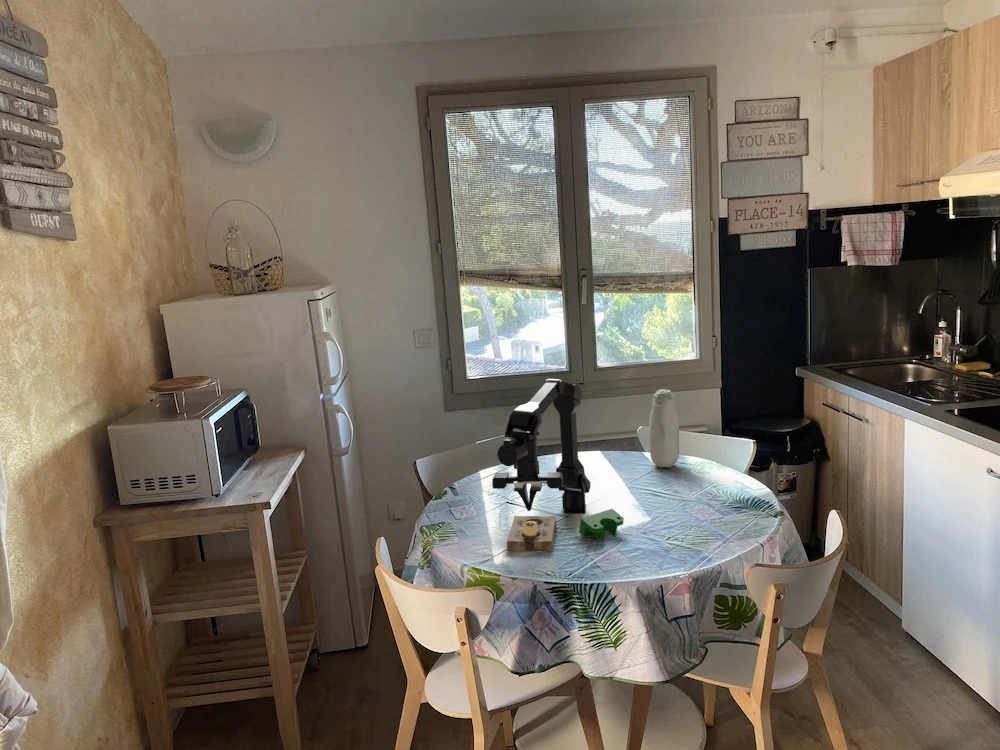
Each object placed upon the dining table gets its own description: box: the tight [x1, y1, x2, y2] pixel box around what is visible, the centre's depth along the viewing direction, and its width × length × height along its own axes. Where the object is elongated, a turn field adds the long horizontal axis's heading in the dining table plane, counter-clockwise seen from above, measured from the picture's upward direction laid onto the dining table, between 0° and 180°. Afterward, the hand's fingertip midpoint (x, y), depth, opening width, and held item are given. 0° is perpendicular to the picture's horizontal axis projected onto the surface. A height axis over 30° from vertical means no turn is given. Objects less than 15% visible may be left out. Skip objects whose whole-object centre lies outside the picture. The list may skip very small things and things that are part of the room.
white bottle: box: [648, 388, 680, 468], centre depth 257 cm, size 10×10×28 cm
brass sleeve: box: [523, 521, 538, 538], centre depth 202 cm, size 4×4×6 cm
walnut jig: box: [506, 515, 557, 552], centre depth 206 cm, size 12×18×3 cm
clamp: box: [578, 508, 625, 541], centre depth 205 cm, size 12×6×9 cm, turn 114°
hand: (529, 510), depth 200 cm, fingers closed
